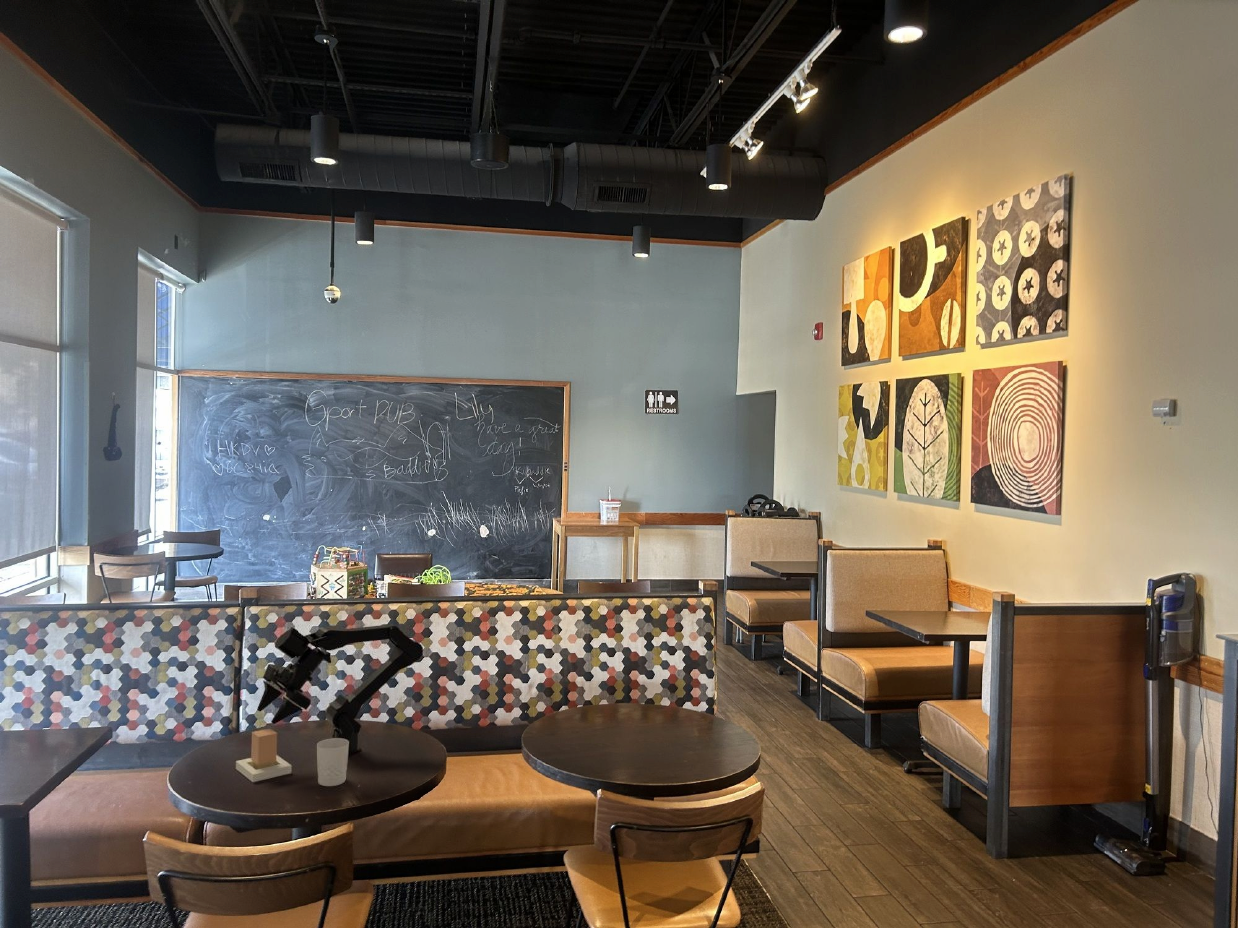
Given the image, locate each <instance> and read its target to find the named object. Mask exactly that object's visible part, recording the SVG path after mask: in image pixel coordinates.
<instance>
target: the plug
mask: <svg viewBox="0 0 1238 928" xmlns="http://www.w3.org/2000/svg"><path fill="white" fill-rule="evenodd" d="M277 746H278V732H276V731H275V730H273V729H272V728H265V729H260V730H255V731H251V746H250V747H251V748H250V749H251V750H250V751H251V752H250V753H251V755H250V758H251V760H252V761H253V768H254V769H255V770H257V769H262V768H266V767H270V766H274V762H275V761H276V756H278V754H277V750H278V747H277Z"/></svg>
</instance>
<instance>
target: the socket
mask: <svg viewBox="0 0 1238 928" xmlns="http://www.w3.org/2000/svg"><path fill="white" fill-rule="evenodd" d="M235 769H236V770H237V771H238V772H240V773H241V774H242V775H243V776H245V778H247V779H248V780H249V781H251V782H252V783H256V782H259V781H264V780H268V779H272V778H276V777H280V776H285V775H289V774H292V764H291V763H289V762H287V761H286V760H284V759H283V758H281V757H280V756H279V755H277V756H276V761H275V762H274V766H270V767H266V768H262V769H257V770H255V769H254V768H253V761H252V760H251V757H249V758H248V757H247V758H243V759H241V760H240V759H239V760H235Z"/></svg>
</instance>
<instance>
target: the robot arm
mask: <svg viewBox="0 0 1238 928" xmlns="http://www.w3.org/2000/svg"><path fill="white" fill-rule="evenodd" d="M386 640H389V641H390V643H391V644H392V645H393V646H394V648H393V649H392V651H391V653H390V655H389V657H388V658H387V660H386V661H385V662H383V664H381V665H380V667H378V668H377V669H376V670H375V671H374V672H373V673H372V674H371V675H369V676H368V678H366V679H365V680H364V681H363V682H362V683H361V684H360V685H358V687H357V688H355V690H354V691H353V692H351V693H350V694H348V695H345V696H344V695H343V694H341V693H340V694H339V695H337V697H336V698H335V699H334V700H333V701H332V702H329V703H328V705H329V706H328V707H327V708H326V711H325V718H326V720H327V722H329V723H330V724H331V725H332V728H334V729H333V732H332V733H333V734H332V738H342V739H346V740H348V741H349V748H348V757H349V756H350V755H353V754H355V753H357V752H360V751H362V747H358V745H359V743H358V741H359V733H360V731H361V728H362V725H361V724H360V723H359V722H358V721H357V720H356V718H357V717H358V715H359V713H360V710H361V709H362V707H363V705H364V704H366V703H367V701H369V700H370V699H371V698H372V697H374V695H375V694H376V693H377V692H379V690H380V689H382V688H383V687H384V686H385V685H386V684H387V683H388V682H389V681H390V680H391V679H392V678H393V677H394V676H395V675H396V674H397V673H398V672H399V671H401V670H403V669H406V668H407V667H410V666H412V665H413V664H415V663H416V662H418V661H419V660H420V659H421V658H422V657H423V655H424V653H423V652H424V648H423V646H422V644H421V643H420V642H418V641H416V640H414V639H412V638H410V637H409V636H407V634H405V633H404V632H403V631H402V630H401V629H400V628H399V627H398V626H396V625H394V624H392V623H387V624H381V625H373V626H372V625H369V626H362V627H361V626H360V627H351V628H348V627H345V628H344V627H337V626H327V625H325V626H321V627H319V628H318V629H317V630H316V631H314V632H312V633H309V634H306V635H303V634H302V633H300V631H299V630H298V629H296V628H295V627H294V626H291V627H290V628H289V629H287V630H285V632H283V633H282V634H281V635H280V636H279V637H278V638H277V640H276V641H275V644H274V647H275V648H276V649H277V650H279V651H280V652H281V653H283V654H284V655H286V656H288V657H289V658H290V659H295V658H297V660H295V662H294V663H292V662H290V663H289V664H287V665H286V666H282V665H277V664H272V663H268V664H267V667H266V669H265V672H264V674H263V676H262V679H264V680H263V682H262V683H263V685H264V691H263V694H262V696H261V699H260V701H259V704H258V706H257V708H256V709H257V711H258V712H262V711H263V710H264V709H266V708H267V707H268V706H269V705H271V704H272V703H273V702H275V700H276V699H278V698H279V697H280V696H281V695H283V692H284V693H285V696H282V704H281V706H280V707H279V708H278V710H277V711H276V713H275V714H274V716H273V718H272V719H271V722H270V723H271V724H273V725H275V724H278V723H279V722H281V721H283V720H284V719H286V718H288V717H290V716H292V715H294V714H296V713H298V712H302V711H303V710H305V711H307V710H308V708H309V707H310V706H311V705H312V704H311V702H312V701H311V700H312V699H311V698H309V697H308V696H306V695H305V694H304V693H303V692H304V691H303V690H302V688H303V687H304V686H305V684H306V683H307V682H308V681H309V682H311V683H312V681H313V679H314V678H313V677H312V675H313V674H314V673H315V671H316V670H318V668H319V666H320V665H321V664H322V663H323V661H325V662H327V663H328V664H331V663H332V659H331V655H332V654H331V651H334V650H338V649H341V648H345V646H349V645H351V644H358V643H367V642H376V641H386ZM309 644H310V645H311V646H313V647H314V648H312V647H311V646H309ZM321 648H322V649H323V650H325V651H326V652H325V651H323V650H322V649H321Z"/></svg>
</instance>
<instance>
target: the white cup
mask: <svg viewBox="0 0 1238 928" xmlns="http://www.w3.org/2000/svg"><path fill="white" fill-rule="evenodd" d="M348 748H349V741H348V740H346V739H342V738H333V737H331V738H326V739H325V738H324V739H322V740H320V741H319V742H317V744H316V760H317V761H316V765H317V769H316V770H317V783H318V785H320V786H324V787H335V786H339V785H341V784H343V783H345V782H346V780H347V779H346V778H347V771H348V770H347V769H348V761H349V759H348V758H349V756H348Z"/></svg>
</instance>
